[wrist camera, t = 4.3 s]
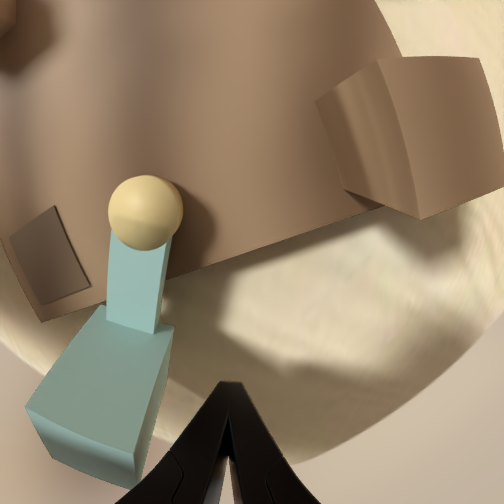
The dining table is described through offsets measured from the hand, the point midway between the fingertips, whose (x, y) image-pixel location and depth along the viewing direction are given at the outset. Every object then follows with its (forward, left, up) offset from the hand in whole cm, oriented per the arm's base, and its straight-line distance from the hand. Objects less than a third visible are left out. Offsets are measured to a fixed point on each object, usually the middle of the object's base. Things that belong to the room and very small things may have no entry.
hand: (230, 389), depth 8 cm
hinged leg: (-2, +4, -2) cm, 5 cm away
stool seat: (0, +12, -4) cm, 13 cm away
